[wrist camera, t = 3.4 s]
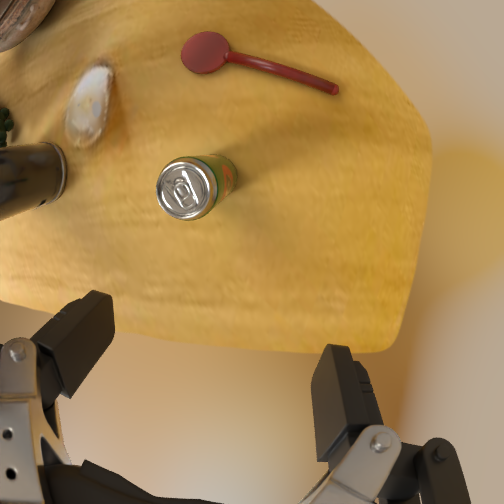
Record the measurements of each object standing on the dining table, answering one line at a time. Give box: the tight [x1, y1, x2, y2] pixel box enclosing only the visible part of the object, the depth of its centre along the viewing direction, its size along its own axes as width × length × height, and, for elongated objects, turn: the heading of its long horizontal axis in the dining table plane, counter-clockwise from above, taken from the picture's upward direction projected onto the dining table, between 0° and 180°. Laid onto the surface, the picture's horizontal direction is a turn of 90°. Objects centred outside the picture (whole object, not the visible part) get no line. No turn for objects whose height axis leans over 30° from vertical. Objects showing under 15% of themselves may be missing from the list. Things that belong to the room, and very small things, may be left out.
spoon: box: [181, 32, 339, 95], centre depth 26 cm, size 18×6×1 cm, turn 71°
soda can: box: [156, 155, 237, 221], centre depth 26 cm, size 5×5×12 cm
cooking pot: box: [0, 0, 56, 53], centre depth 16 cm, size 25×19×12 cm
